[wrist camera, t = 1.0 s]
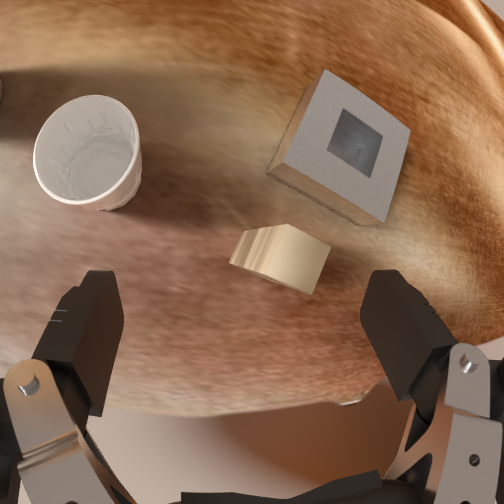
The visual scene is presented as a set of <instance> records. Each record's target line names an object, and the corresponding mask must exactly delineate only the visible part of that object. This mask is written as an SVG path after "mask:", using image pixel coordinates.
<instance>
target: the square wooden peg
mask: <svg viewBox="0 0 504 504" xmlns="http://www.w3.org/2000/svg"><path fill="white" fill-rule="evenodd" d="M330 249H331V246H329V245H327V244H325V243H323V242H322V241H320V240H318V239H316V238H314V237H312V236H310V235H308V234H306V233H304V232H303V231H301V230H299V229H297V228H295V227H293V226H291V225H289V224H283V225H277V226H271V227H264V228H258V229H252V230H246V231H243V232H242V234H241V236H240V238H239V241H238V243H237V245H236V247H235V250H234V252H233V254H232V256H231V259H230V261H229V263H230V264H232V265H234V266H237V267H239V268H241V269H243V270H246V271H248V272H250V273H252V274H254V275H257V276H259V277H262V278H265V279H267V280H270V281H273V282H276V283H279V284H282V285H284V286H287V287H290V288H293V289H296V290H299V291H301V292H304V293H307V294H310V295H312V292H313V290H314V288H315V285H316V283H317V281H318V278H319V276H320V273H321V271H322V269H323V266H324V264H325V261H326V259H327V256H328V254H329V251H330Z"/></svg>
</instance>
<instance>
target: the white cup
mask: <svg viewBox="0 0 504 504" xmlns="http://www.w3.org/2000/svg"><path fill="white" fill-rule="evenodd" d="M33 164H34V170H35V174H36V177H37V179H38V181H39V183H40V185H41V186H42V188H43V189H44V190H45V191H46V192H47V193H48V194H49V195H50V196H51V197H53V198H54V199H56V200H58V201H60V202H63V203H67V204H71V205H75V206H79V207H83V208H87V209H94V210H107V211H110V210H113V209H116V208H119V207H122V206H124V205H125V204H126V203H127V202H128V201H129V200H130V199H131V198H133V197H134V196H135V194H136V192H137V190H138V187H139V185H140V183H141V180H142V179H141V171H142V155H141V147H140V139H139V131H138V126H137V123H136V121H135V118H134V117H133V115H132V113H131V112H130V111H129V109H128V108H127V107H126V106H125V105H123V104H122V103H121V102H119V101H118V100H116V99H114V98H111V97H108V96H103V95H87V96H82V97H78V98H76V99H73V100H71V101H69V102H67V103H65V104H64V105H62V106H61V107H60V108H58V109H57V110H56V111H55V112H54V113H53V114H52V115H51V116H50V117H49V118H48V119H47V121H46V122H45V123H44V125H43V127H42V128H41V130H40V132H39V134H38V137H37V140H36V143H35V147H34V154H33Z"/></svg>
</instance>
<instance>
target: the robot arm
mask: <svg viewBox="0 0 504 504" xmlns="http://www.w3.org/2000/svg"><path fill="white" fill-rule="evenodd" d="M2 94H3V84H2V80H1V78H0V102H1V99H2ZM360 320H361V324H362V326H363V328H364V330H365V332H366V334H367V336H368V338H369V340H370V342H371V344H372V346H373V348H374V350H375V352H376V354H377V356H378V359H379V361H380V363H381V365H382V367H383V369H384V371H385V373H386V375H387V377H388V379H389V381H390V384H391V386H392V388H393V390H394V392H395V394H396V397H397V399H398V401H399V402H401V401H405V400H408V399H413V400H414V402H415V404H414V405H413V407H412V408H411V411H410V414H409V418H408V422H407V425H406V429H405V432H404V436H403V439H402V442H401V445H400V448H399V451H398V454H397V457H396V459H395V461H394V462H393V464H392V466H391V467H390V468H389V470H388V471H387V473H386V475H385V477H384V479H381V478H380V475H379V472H378V470H373V471H370V472H366V473H362V474H358V475H355V476H350V477H345V478H341V479H337V480H333V481H331V482H329V483H327V484H324V485H322V486H320V487H318V488H315V489H313V490H311V491H308V492H306V493H303V494H301V495H298V496H296V497H293V498H290V499H276V498H267V497H259V496H252V495H245V494H239V493H234V492H229V493H227V492H226V493H191V492H181V501H179V502H173V503H170V504H494V501H495V499H496V501H497V504H504V358H503V359H502V360H488V359H487V357H486V356H485V355H484V353H483V352H482V351H481V350H479V349H478V348H477V347H475V346H473V345H470V344H467V343H458V342H457V340H456V339H455V338H454V336H453V335H452V333H451V332H450V331H449V329H448V328H447V326H446V325H445V324H444V322H443V321H442V320H441V318H440V317H439V315H438V314H436V311H435V310H434V309H433V307H432V306H431V305H429V302H428V301H427V300H426V298H425V297H424V296H423V294H422V293H421V292H420V291H418V290H417V289H416V288H414V287H413V286H411V285H410V284H408V283H407V281H406V280H405V279H404V278H403V276H402V275H401V274H400V273H399V271H397V270H375V271H374V272H373V273H372V275H371V277H370V281H369V284H368V287H367V290H366V293H365V296H364V300H363V303H362V306H361V310H360ZM123 326H124V314H123V308H122V304H121V300H120V296H119V291H118V287H117V282H116V277H115V274H114V272H113V271H97V270H90V271H88V272H87V274H86V276H85V277H84V279H83V281H82V283H81V285H80V287H76V286H74V287H73V288H72V289H70V290H69V291H68V292H67V293H66V294H65V295H64V296H63V297H62V298H61V300H60V302H59V304H58V305H57V307H56V311H54V313H53V315H52V317H51V321H49V323H48V325H47V327H46V329H45V331H44V333H43V335H42V337H41V339H40V341H39V343H38V345H37V347H36V349H35V351H34V353H33V356H32V358H31V359H27V360H23V361H21V362H19V363H17V364H15V365H14V366H13V367H12V368H11V369H10V370H9V371H8V373H7V374H6V376H5V378H1V379H0V504H18V496H19V489H20V481H21V480H22V483H23V485H24V487H25V490H26V492H27V494H28V497H29V499H30V501H31V503H32V504H137V503H136V502H135V500H134V499H133V498H132V496H131V495H130V494H129V492H128V491H127V490H126V489H125V488H124V486H123V485H122V484H121V482H120V481H119V480H118V478H117V477H116V475H115V474H114V472H113V471H112V469H111V468H110V466H109V465H108V463H107V461H106V460H105V458H104V456H103V455H102V453H101V452H100V450H99V448H98V447H97V445H96V443H95V441H94V439H93V438H92V436H91V434H90V432H89V430H88V428H87V427H86V424H87V420H88V416H89V415H91V416H97V417H102V412H103V408H104V403H105V399H106V394H107V390H108V386H109V381H110V377H111V373H112V369H113V365H114V361H115V357H116V353H117V350H118V346H119V342H120V339H121V335H122V331H123Z"/></svg>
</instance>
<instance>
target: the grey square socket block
mask: <svg viewBox="0 0 504 504" xmlns="http://www.w3.org/2000/svg"><path fill="white" fill-rule="evenodd" d="M410 131H411V130H409V129H408V128H407V127H406V126H404V125H403V124H402V123H401V122H400V121H398V120H397V119H396V118H395V117H393V116H392V115H391V114H389V113H388V112H387V111H386V110H384V109H383V108H382V107H380V106H379V105H378V104H376V103H375V102H374V101H372V100H371V99H369V98H368V97H367V96H365V95H364V94H362V93H361V92H360V91H358V90H357V89H355V88H354V87H352V86H351V85H349V84H348V83H346V82H345V81H343V80H342V79H340V78H339V77H337V76H336V75H334V74H333V73H331V72H329V71H328V70H326V69H325V70H324V71H323V72H322V73H321V74H320V75H319V76H317V77H316V78H315V79H314V80H313V81H312V83H311V84H310V85H309V86H308V87H307V88H306V89H305V91H304V93H303V95H302V97H301V99H300V101H299V104H298V106H297V108H296V110H295V112H294V114H293V116H292V118H291V120H290V123H289V125H288V127H287V129H286V131H285V133H284V135H283V137H282V140H281V142H280V144H279V146H278V148H277V150H276V152H275V155H274V157H273V159H272V161H271V163H270V165H269V167H268V170H267V172H266V174H267V175H269V176H270V177H272V178H274V179H276V180H278V181H280V182H282V183H284V184H285V185H287V186H289V187H291V188H293V189H295V190H296V191H298V192H300V193H302V194H304V195H305V196H307V197H309V198H311V199H313V200H314V201H316V202H318V203H320V204H321V205H323V206H325V207H327V208H328V209H330V210H332V211H334V212H335V213H337V214H339V215H340V216H342V217H344V218H345V219H347V220H349V221H351V222H352V223H354V224H356V225H370V224H382V223H384V222H385V219H386V216H387V213H388V210H389V207H390V204H391V200H392V197H393V194H394V191H395V187H396V184H397V180H398V177H399V173H400V170H401V166H402V162H403V159H404V155H405V151H406V147H407V143H408V139H409V135H410Z"/></svg>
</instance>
